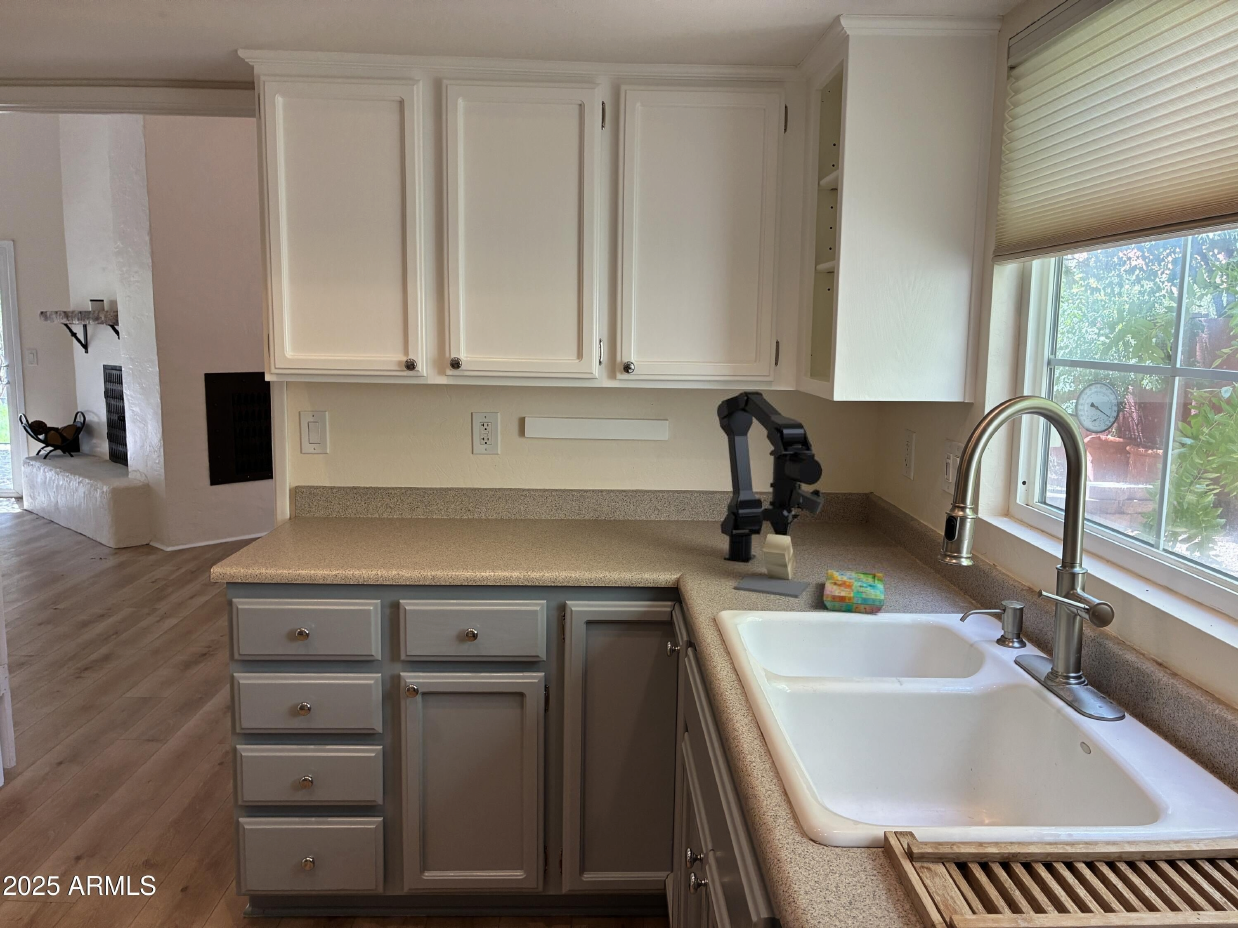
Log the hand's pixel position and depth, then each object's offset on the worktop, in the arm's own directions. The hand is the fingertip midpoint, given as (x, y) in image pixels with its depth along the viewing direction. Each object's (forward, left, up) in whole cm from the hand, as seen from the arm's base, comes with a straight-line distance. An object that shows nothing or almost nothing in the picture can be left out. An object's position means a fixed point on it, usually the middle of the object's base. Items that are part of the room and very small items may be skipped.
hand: (782, 546), depth 209 cm
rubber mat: (+7, 0, -8) cm, 11 cm away
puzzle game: (+9, +18, -8) cm, 21 cm away
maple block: (-1, 0, -6) cm, 6 cm away
